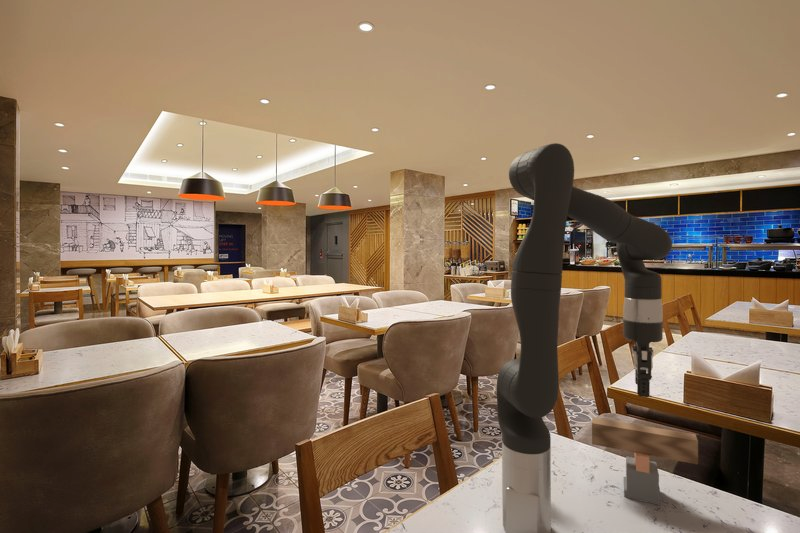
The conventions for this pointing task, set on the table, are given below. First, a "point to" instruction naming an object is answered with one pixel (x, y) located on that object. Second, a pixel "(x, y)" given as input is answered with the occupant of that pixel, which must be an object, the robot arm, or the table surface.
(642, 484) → the balance stand
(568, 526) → the table surface
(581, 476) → the table surface
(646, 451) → the brown wooden beam
